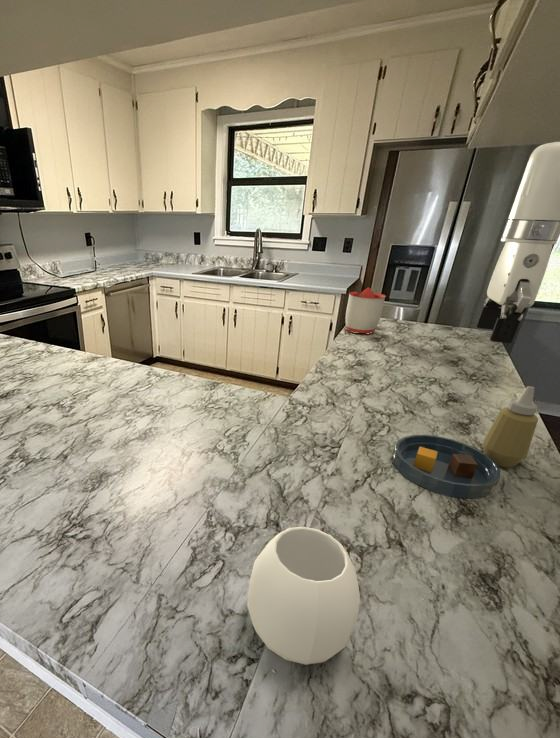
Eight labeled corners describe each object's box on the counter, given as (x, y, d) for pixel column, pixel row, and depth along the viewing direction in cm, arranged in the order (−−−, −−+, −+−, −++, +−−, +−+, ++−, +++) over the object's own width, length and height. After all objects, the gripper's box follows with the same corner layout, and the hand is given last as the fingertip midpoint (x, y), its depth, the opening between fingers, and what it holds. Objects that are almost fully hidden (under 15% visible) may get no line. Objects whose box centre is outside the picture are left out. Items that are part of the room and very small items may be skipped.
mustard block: (433, 465, 86) (437, 451, 84) (431, 472, 83) (436, 458, 81) (415, 459, 87) (419, 446, 86) (412, 467, 85) (417, 453, 83)
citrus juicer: (370, 327, 193) (380, 284, 184) (381, 337, 178) (392, 291, 169) (338, 325, 194) (345, 283, 185) (346, 335, 179) (355, 289, 170)
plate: (479, 456, 90) (484, 443, 88) (507, 510, 74) (515, 495, 72) (388, 441, 95) (392, 428, 94) (396, 487, 79) (400, 473, 77)
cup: (333, 587, 57) (351, 516, 51) (362, 683, 46) (390, 606, 40) (242, 582, 58) (249, 511, 52) (247, 676, 46) (257, 599, 40)
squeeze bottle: (516, 456, 90) (549, 383, 82) (524, 475, 84) (562, 398, 75) (474, 448, 93) (503, 377, 85) (480, 465, 87) (511, 390, 78)
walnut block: (465, 469, 85) (470, 455, 83) (472, 478, 81) (478, 464, 80) (447, 467, 85) (452, 453, 83) (454, 476, 82) (459, 462, 80)
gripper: (583, 236, 57) (533, 351, 65) (538, 232, 71) (501, 326, 79) (521, 234, 59) (480, 345, 67) (490, 230, 73) (459, 321, 81)
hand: (492, 334), depth 73 cm, fingers open, 9 cm apart
